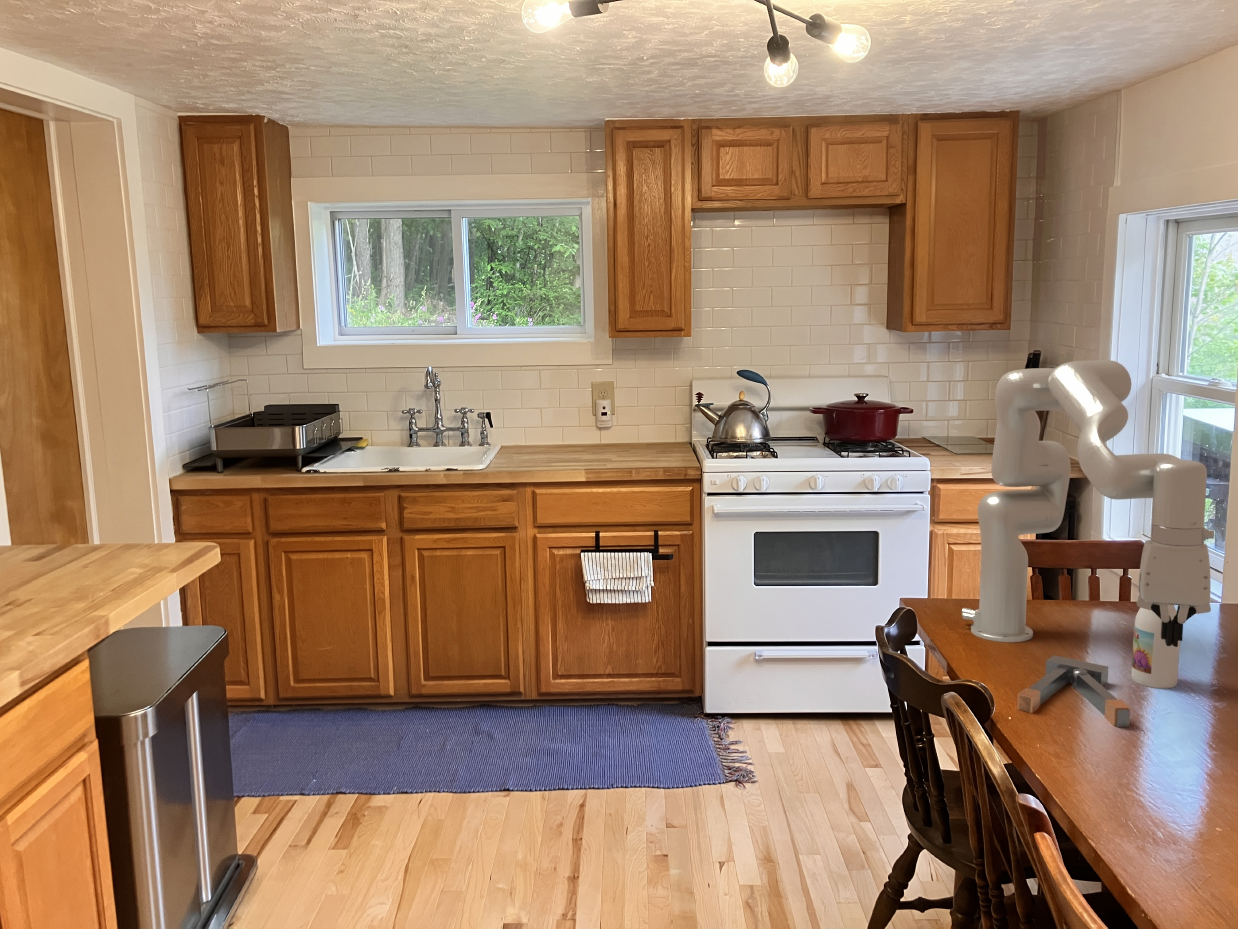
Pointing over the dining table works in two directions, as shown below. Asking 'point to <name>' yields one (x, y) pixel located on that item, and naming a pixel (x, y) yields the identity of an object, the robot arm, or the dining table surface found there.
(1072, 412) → the robot arm
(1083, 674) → the arm
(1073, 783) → the dining table surface
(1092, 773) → the dining table surface
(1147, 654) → the milk bottle
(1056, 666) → the tongs base
